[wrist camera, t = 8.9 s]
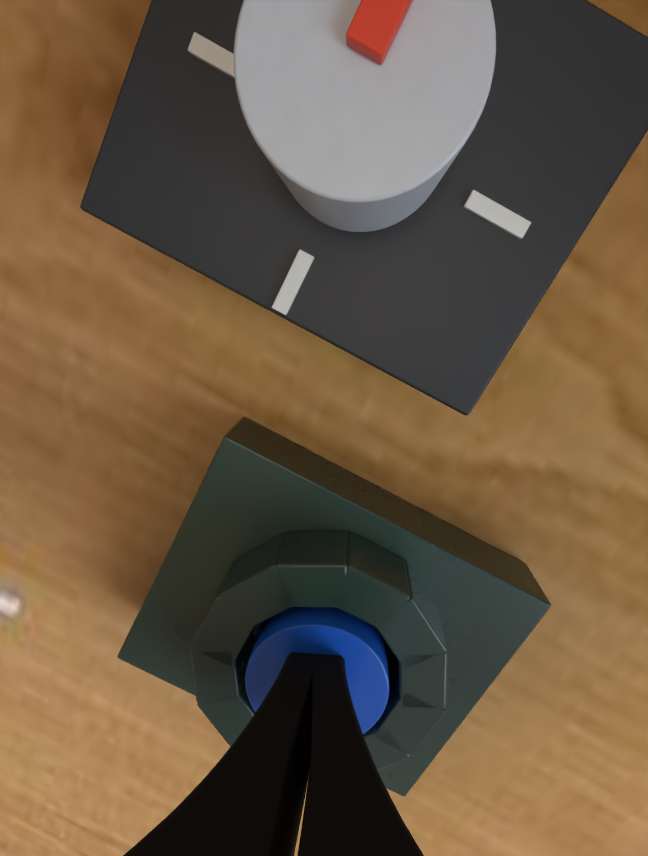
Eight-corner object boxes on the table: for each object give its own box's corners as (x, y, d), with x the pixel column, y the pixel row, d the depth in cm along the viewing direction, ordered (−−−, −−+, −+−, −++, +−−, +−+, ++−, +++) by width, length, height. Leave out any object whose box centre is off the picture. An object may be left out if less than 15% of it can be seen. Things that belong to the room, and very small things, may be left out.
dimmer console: (615, 115, 12) (697, 56, 9) (447, 392, 15) (470, 419, 11) (259, -94, 12) (223, -228, 9) (136, 226, 14) (73, 206, 11)
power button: (409, 614, 14) (416, 666, 12) (348, 705, 15) (345, 767, 13) (295, 556, 14) (283, 600, 12) (240, 652, 15) (221, 707, 13)
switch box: (526, 563, 16) (580, 650, 12) (399, 738, 18) (409, 860, 14) (243, 416, 15) (203, 456, 11) (146, 613, 17) (84, 705, 13)
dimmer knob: (394, 263, 11) (411, 245, 7) (247, 181, 11) (184, 118, 7) (486, 94, 10) (561, -28, 6) (326, 0, 10) (303, -186, 6)
